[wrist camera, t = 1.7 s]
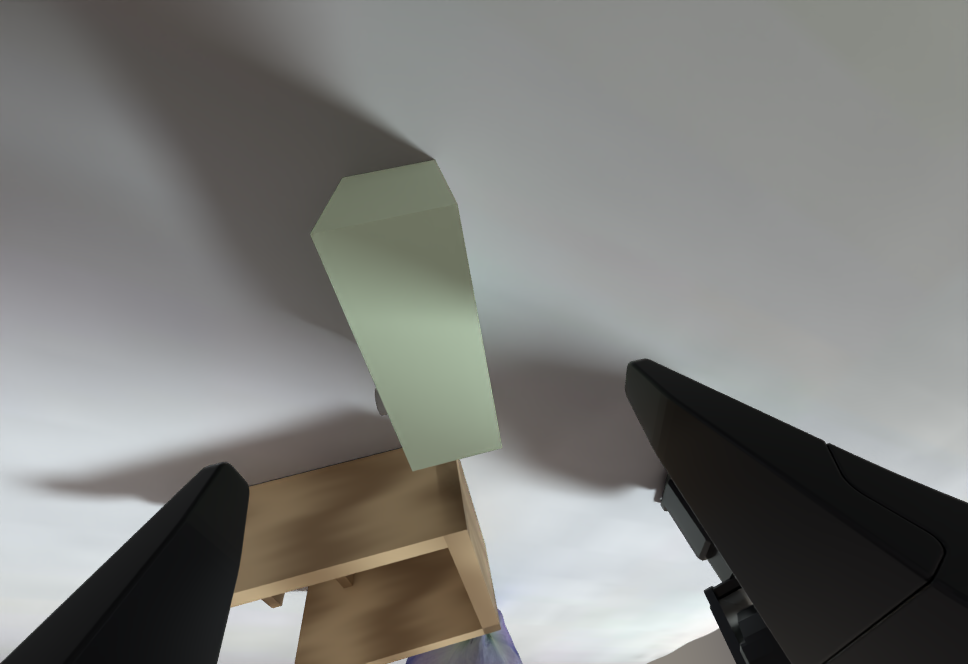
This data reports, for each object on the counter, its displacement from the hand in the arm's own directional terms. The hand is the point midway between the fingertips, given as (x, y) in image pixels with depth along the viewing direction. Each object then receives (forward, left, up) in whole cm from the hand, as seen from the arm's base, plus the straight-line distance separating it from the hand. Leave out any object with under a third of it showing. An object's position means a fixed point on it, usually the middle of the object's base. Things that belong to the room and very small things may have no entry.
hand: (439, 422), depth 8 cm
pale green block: (0, 0, -7) cm, 7 cm away
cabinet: (+8, +15, -7) cm, 18 cm away
